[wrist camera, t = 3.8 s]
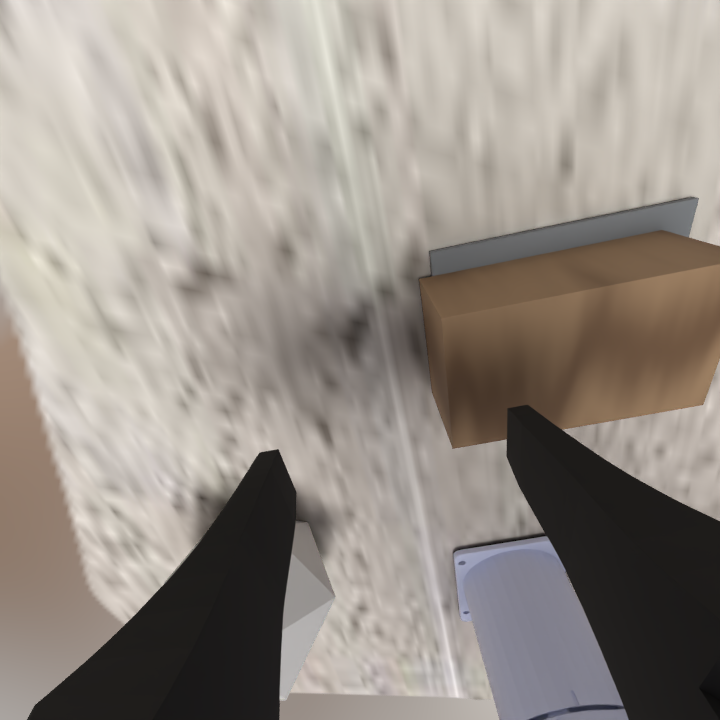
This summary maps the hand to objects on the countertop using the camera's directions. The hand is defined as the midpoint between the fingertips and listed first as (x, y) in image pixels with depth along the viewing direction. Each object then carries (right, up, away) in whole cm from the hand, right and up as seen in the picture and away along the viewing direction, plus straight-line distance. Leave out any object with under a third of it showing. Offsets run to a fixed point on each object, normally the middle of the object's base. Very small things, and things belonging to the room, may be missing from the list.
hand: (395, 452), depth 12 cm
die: (-7, -8, +13) cm, 17 cm away
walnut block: (+2, +3, +4) cm, 5 cm away
